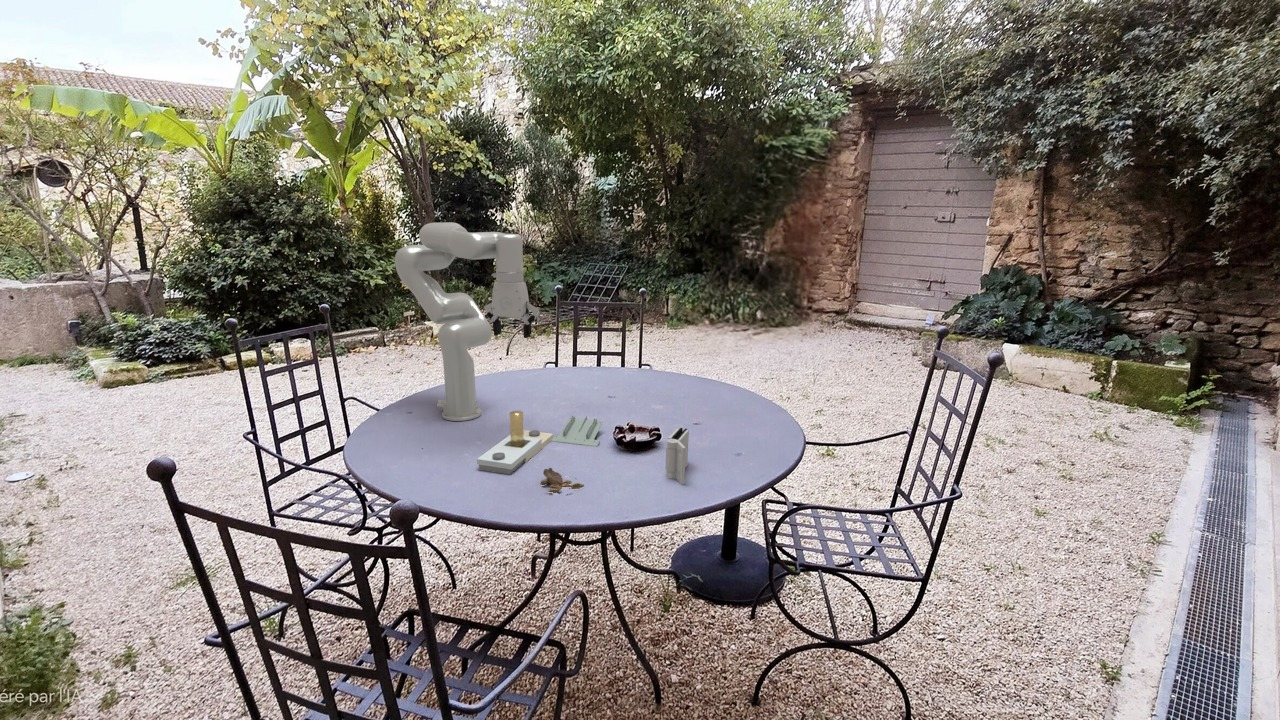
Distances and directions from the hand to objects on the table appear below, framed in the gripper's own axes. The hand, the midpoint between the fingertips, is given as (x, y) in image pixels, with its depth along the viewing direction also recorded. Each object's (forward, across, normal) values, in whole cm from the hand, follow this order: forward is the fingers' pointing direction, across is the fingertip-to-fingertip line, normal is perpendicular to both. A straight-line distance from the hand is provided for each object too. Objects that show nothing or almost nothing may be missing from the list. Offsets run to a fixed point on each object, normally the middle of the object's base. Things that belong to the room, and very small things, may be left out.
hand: (512, 335), depth 173 cm
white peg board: (+30, +8, -14) cm, 34 cm away
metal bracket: (+31, +20, +3) cm, 37 cm away
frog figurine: (+31, +27, -29) cm, 50 cm away
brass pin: (+30, +8, -14) cm, 34 cm away
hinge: (+31, +54, -12) cm, 63 cm away
